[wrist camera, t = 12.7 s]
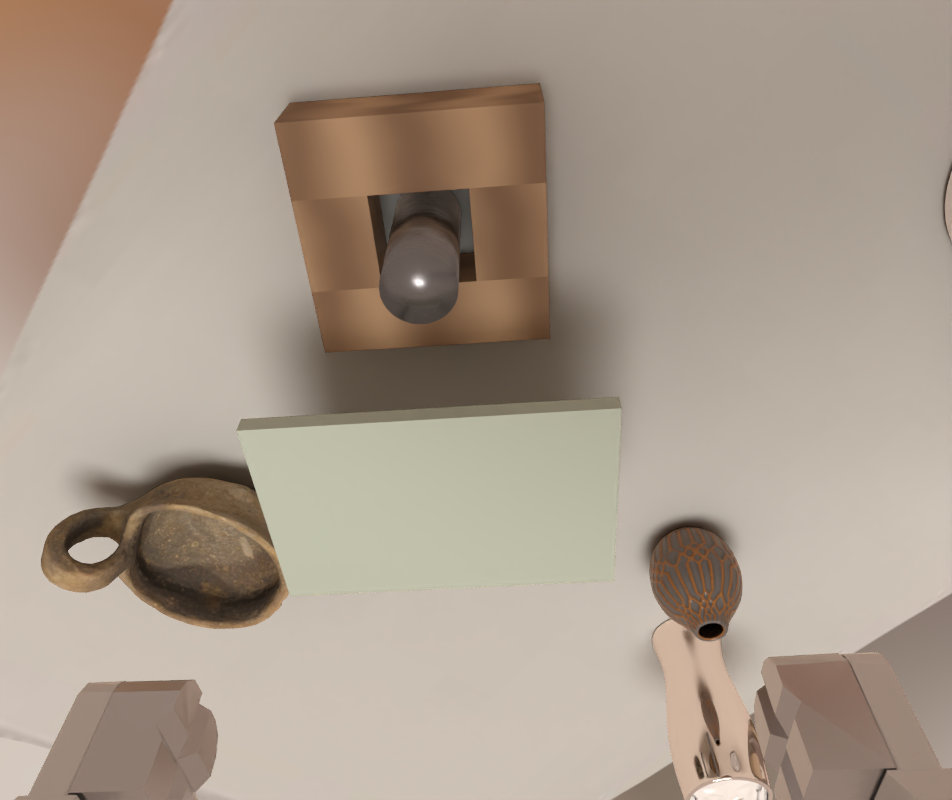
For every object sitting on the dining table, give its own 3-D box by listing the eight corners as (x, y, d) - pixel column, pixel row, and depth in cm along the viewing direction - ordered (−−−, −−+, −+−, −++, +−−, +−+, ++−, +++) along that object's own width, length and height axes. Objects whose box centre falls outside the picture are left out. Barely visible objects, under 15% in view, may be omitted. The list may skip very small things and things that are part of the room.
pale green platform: (591, 290, 49) (621, 408, 39) (589, 446, 57) (614, 580, 46) (287, 310, 50) (236, 430, 40) (324, 461, 58) (290, 596, 47)
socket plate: (539, 83, 42) (544, 102, 39) (545, 307, 50) (549, 338, 47) (289, 102, 43) (273, 123, 40) (335, 320, 51) (325, 352, 48)
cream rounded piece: (634, 651, 71) (666, 815, 59) (667, 604, 67) (709, 769, 55) (701, 665, 72) (746, 829, 60) (738, 620, 69) (794, 785, 56)
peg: (457, 179, 45) (454, 249, 37) (463, 242, 48) (462, 321, 39) (390, 185, 45) (373, 255, 37) (400, 247, 48) (385, 327, 40)
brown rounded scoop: (276, 595, 67) (248, 697, 59) (72, 526, 62) (10, 627, 54) (336, 493, 60) (313, 592, 52) (111, 406, 55) (47, 501, 47)
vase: (698, 500, 60) (727, 587, 53) (743, 546, 63) (777, 634, 56) (626, 541, 63) (645, 629, 56) (673, 584, 66) (696, 672, 59)
